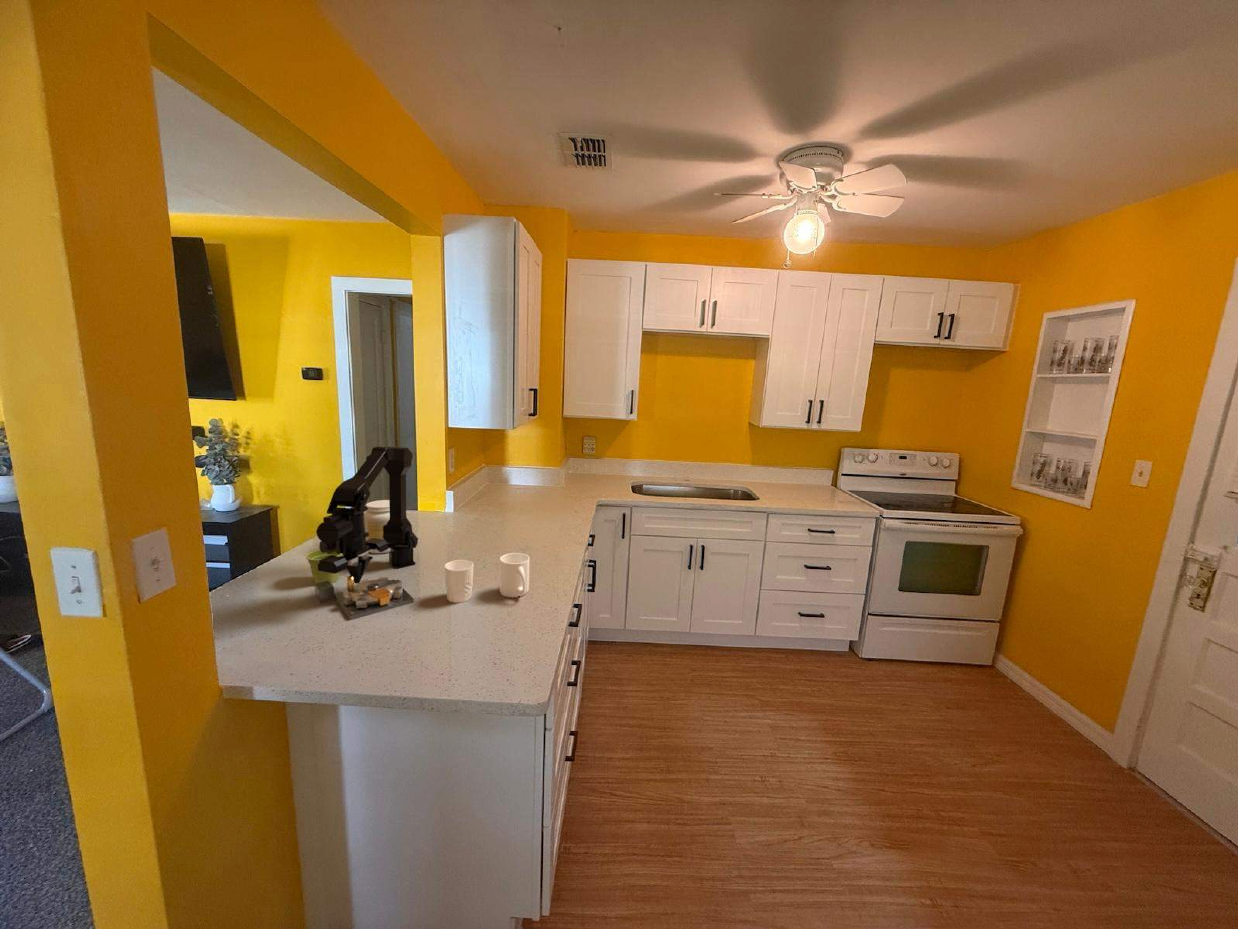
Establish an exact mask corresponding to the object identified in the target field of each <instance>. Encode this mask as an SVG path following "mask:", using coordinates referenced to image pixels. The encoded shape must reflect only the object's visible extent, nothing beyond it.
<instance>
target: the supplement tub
mask: <svg viewBox="0 0 1238 929" xmlns="http://www.w3.org/2000/svg"><path fill="white" fill-rule="evenodd" d="M365 506H366V507H367V508H368V510H366V511H364V521H365V532H369V536H368V537H366V541H367V540H369V539H371V538H376V539H382V540H384V539H383V526H384V525H386V524H387V522H388V521H389V519H390V507H389V499H381V500H380V499H379V500H374V501H370V502H368V503H367V502H366V504H365ZM389 551H391V549H390V548H389V547H388V549H387V550H385V551H383V552H379V551H378V550H377V548H376V549H374V550H371V551H369V552H368V553H371V554H387V553H388V554H389Z"/></svg>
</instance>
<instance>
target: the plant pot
mask: <svg viewBox="0 0 1238 929" xmlns="http://www.w3.org/2000/svg"><path fill="white" fill-rule="evenodd" d="M331 555H332V556H337V557H341V556H343V554H342V553H341V554H337V552H332V553H330V554H327V552H325V553H322V552H321V550H320V549H316V550H314V551H313V550H312V551H311V552H309V553H307V554H306V556H305V559H306V560H307V561H308V563H309V566H310V569H311V573H312V578H313V581H314V584H316V583H320V582H325V581H330V583H331V584H333V583H335V582H337V581H338V580H339V578H340V577H339V576H340V572H338V573H334V574H333V573H328V572H323V571H318V562H319V561H320V560H322V559H324V558H326V557H329V556H331Z"/></svg>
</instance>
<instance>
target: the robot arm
mask: <svg viewBox="0 0 1238 929" xmlns="http://www.w3.org/2000/svg"><path fill="white" fill-rule="evenodd" d="M370 452H371V453H370V455H368V457H367V459H366V460H365V461H364V462H363V463H362V464H361V466H360V468H359V469H358V470H357V471H356V472H355V474H354V475H353V476H352V477H350V478H348V479H346V480H343V481H342V482H341V483H340V484H339V485H338V486H337V487H336V488H335V490H334V491H333V493H332V494H333V495H332V497H331V499H330V502H329V505H328V508H327V510H326V514H327V516H323V519H322V520H323V521H322V522H321V523H320V524H319V525H318V526H317V529H316V530H315V531H316V532H315V534H316V537H317V538H318V540H319V541H320V542H319V550H321V552H322V553H325V552H327V554H330V553H332V552H337V554H341V553H342V556H341V557H337V556H332V555H331V556H329V557H326V558H324V559H322V560H320V561H319V562H318V571H323V572H328V573H333V574H334V573H338V572H339V573H340V572H343V571H345V570H347V571H348V573H349V576H354V584H355V585H357V584H358V583H359V582H360V581H361V580H362V578H363V576H364V574H365V571H366V570H367V568H368V566H369V564H370V562H371V561H372V560H373V556H370V554H369V553H370V552H369V551H371V550H374V549H376V548H377V550H378V551H379V552H383V551H385V550H387V549H388V547H389V548H390V549H391V551H389V553H388V561H389V562H388V564H390V565H391V566H392V567H393V568H394V569H401V568H405V567H409V566H414V565H416V562H415V561H414V549H416V548H417V545H418V543H419V542H418V541H419V538H418V537H417V535H416V533H414V532H413V524H412V523H411V522H410V520H409V519H408V518H407V473H408V471H409V470H410V469H411V466H412V460H413V457H414V456H413V452H412V450H410V449H409V448H408V447H400V446H399V447H398V446H378V445H377V446H375V447H374V446H373V447H372V449H371V451H370ZM383 469H384V470H385V471H386V473H387V474H388V496H389V499H388V500H389V507H390V519H389V521H388V522H387V524H386V525H384V526H383V539H384V540H382V539H376V538H371V539H369V540H367V541H366V537H368V536H369V532H365V521H364V514H365V512H366V511H367V510H368V508H367V507H366V504H367V502H368V501H369V498H370V496H371V490H370V488H371V487H372V485H373V483H374V482H375V480H376V479H377V477H378V476H379V475H380V474H381V472H382V471H383Z"/></svg>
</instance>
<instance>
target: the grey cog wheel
mask: <svg viewBox="0 0 1238 929" xmlns="http://www.w3.org/2000/svg"><path fill="white" fill-rule="evenodd" d="M391 580H392V579H390V578H389V576H387V577H386V576H382V577H379V578H377V579H371V580H370V579H367V578H365V579H361V580H360V582H359V583H358V584H355V583H354V576H351V575H348V576H347V577H346V587H345V588H344V589H343V592H344V595H343V603H344V604H346V605H349V604H352V603H353V604H356V608H366V607H367V606H368V605H374V604H379V605H380V606H381V605H384V604H387V603H390V599H392V598H393V597H400V596H401V595H402V594H403V589H404V587H403V582H402V581H401V580H399V579H394V580H395V581H391Z"/></svg>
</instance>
